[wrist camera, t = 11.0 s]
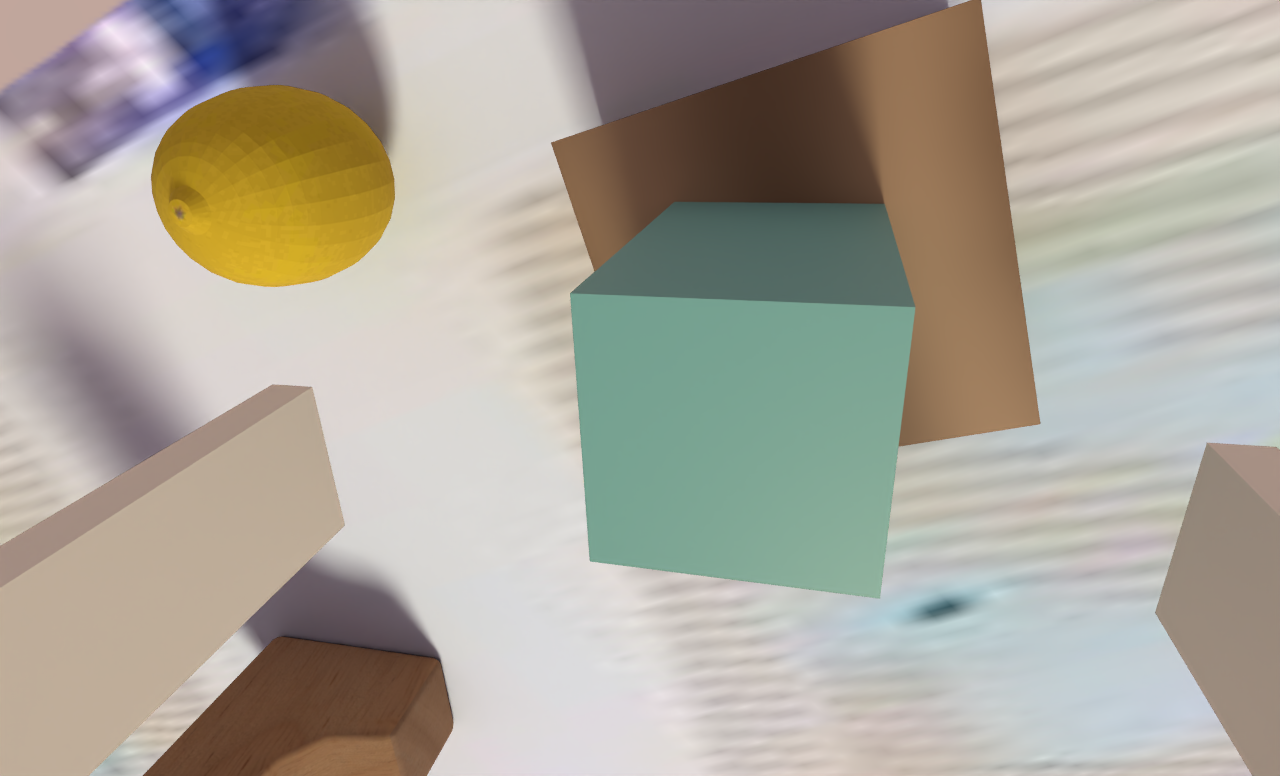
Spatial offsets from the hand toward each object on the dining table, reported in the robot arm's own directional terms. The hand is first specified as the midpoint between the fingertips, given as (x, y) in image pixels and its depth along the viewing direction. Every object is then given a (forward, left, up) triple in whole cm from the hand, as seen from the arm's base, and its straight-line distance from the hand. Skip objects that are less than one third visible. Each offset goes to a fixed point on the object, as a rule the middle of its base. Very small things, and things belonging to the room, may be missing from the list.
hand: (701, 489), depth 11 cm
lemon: (-14, +3, -14) cm, 20 cm away
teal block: (0, 0, -9) cm, 9 cm away
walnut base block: (+1, +1, -14) cm, 14 cm away
